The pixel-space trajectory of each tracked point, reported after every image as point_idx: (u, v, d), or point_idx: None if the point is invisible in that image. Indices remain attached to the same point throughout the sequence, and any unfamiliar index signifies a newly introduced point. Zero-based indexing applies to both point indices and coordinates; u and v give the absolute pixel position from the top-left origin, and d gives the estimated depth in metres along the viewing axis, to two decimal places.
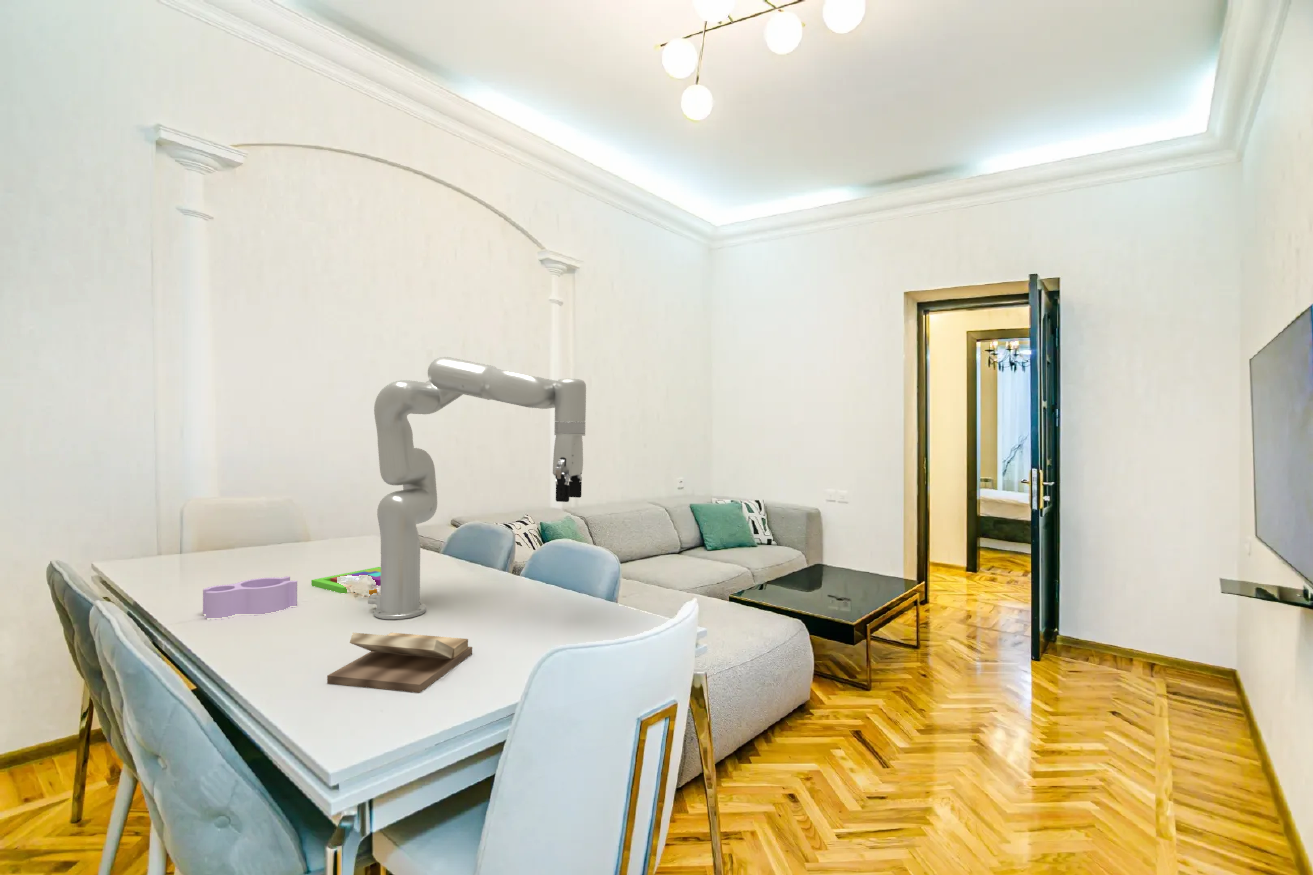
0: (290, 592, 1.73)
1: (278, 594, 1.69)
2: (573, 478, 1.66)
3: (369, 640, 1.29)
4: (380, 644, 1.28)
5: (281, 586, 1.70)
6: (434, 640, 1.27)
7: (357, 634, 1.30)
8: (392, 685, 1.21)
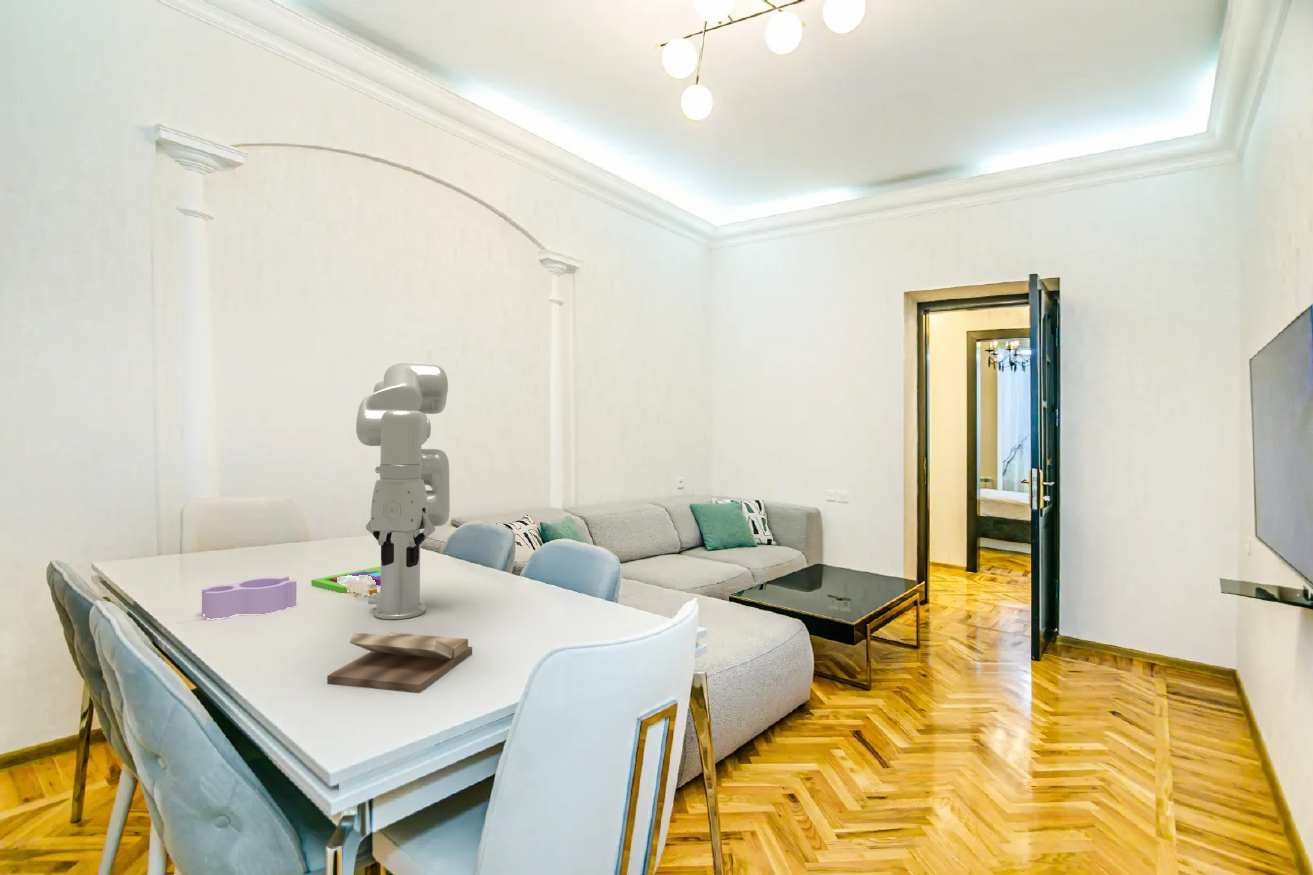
0: (289, 592, 1.73)
1: (277, 594, 1.69)
2: (386, 539, 1.30)
3: (369, 640, 1.29)
4: (380, 644, 1.28)
5: (280, 586, 1.70)
6: (434, 640, 1.27)
7: (357, 634, 1.30)
8: (392, 685, 1.21)
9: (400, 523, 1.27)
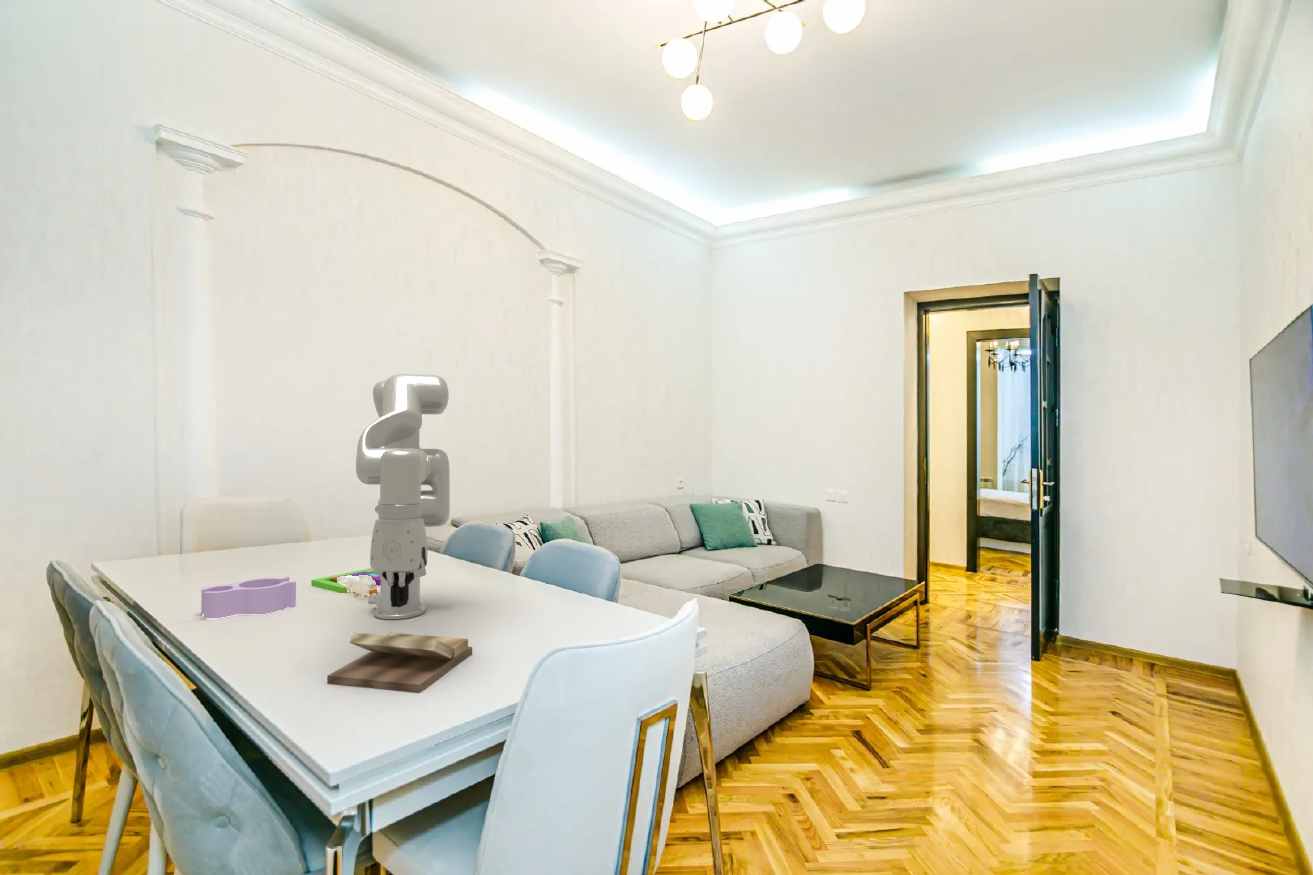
0: (288, 592, 1.73)
1: (276, 594, 1.69)
2: (394, 579, 1.29)
3: (369, 640, 1.29)
4: (380, 644, 1.28)
5: (279, 586, 1.69)
6: (434, 640, 1.27)
7: (357, 634, 1.30)
8: (392, 685, 1.21)
9: (400, 563, 1.27)
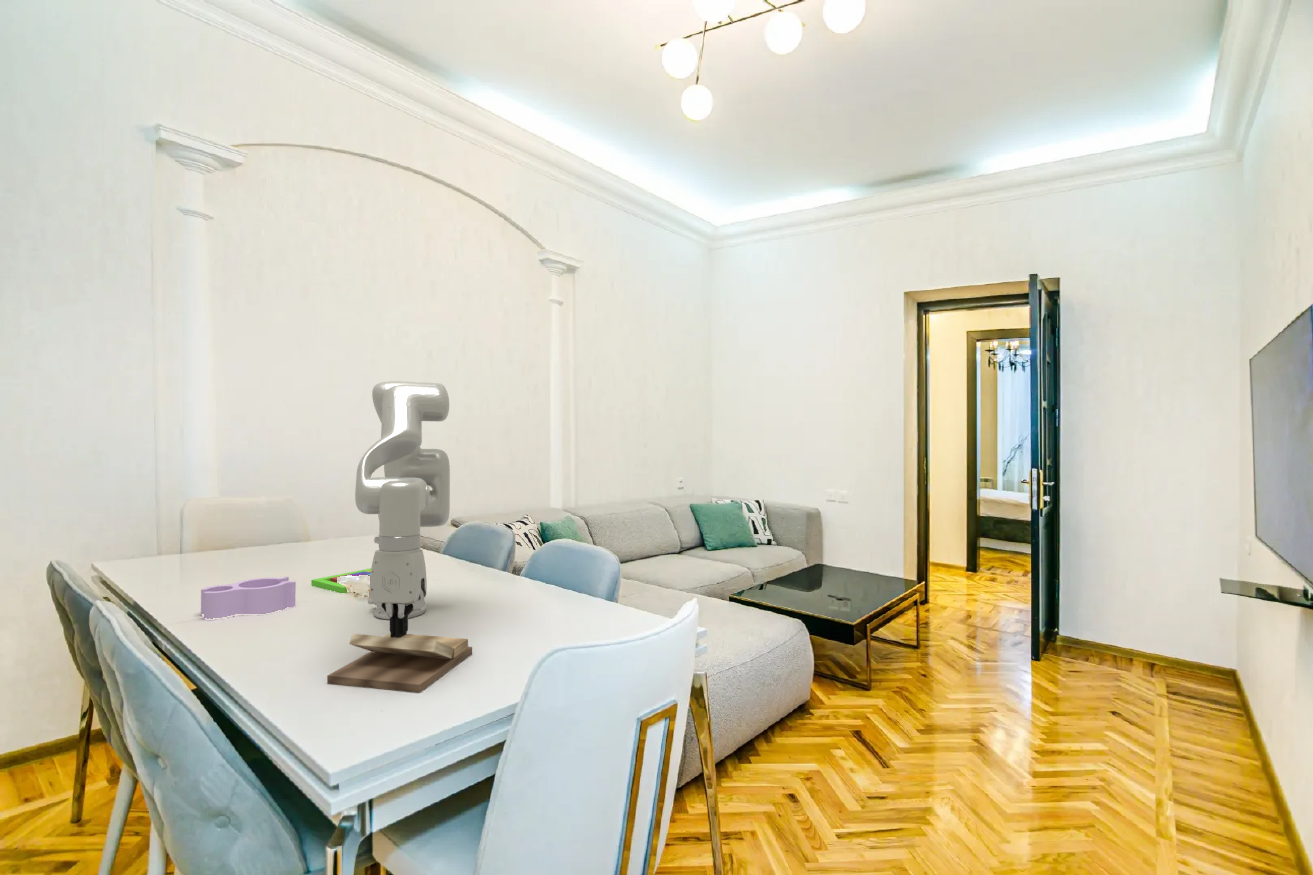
0: (288, 592, 1.73)
1: (276, 594, 1.69)
2: (393, 610, 1.30)
3: (369, 641, 1.29)
4: (380, 645, 1.28)
5: (279, 586, 1.69)
6: (434, 641, 1.27)
7: (357, 635, 1.30)
8: (392, 685, 1.21)
9: (399, 595, 1.27)
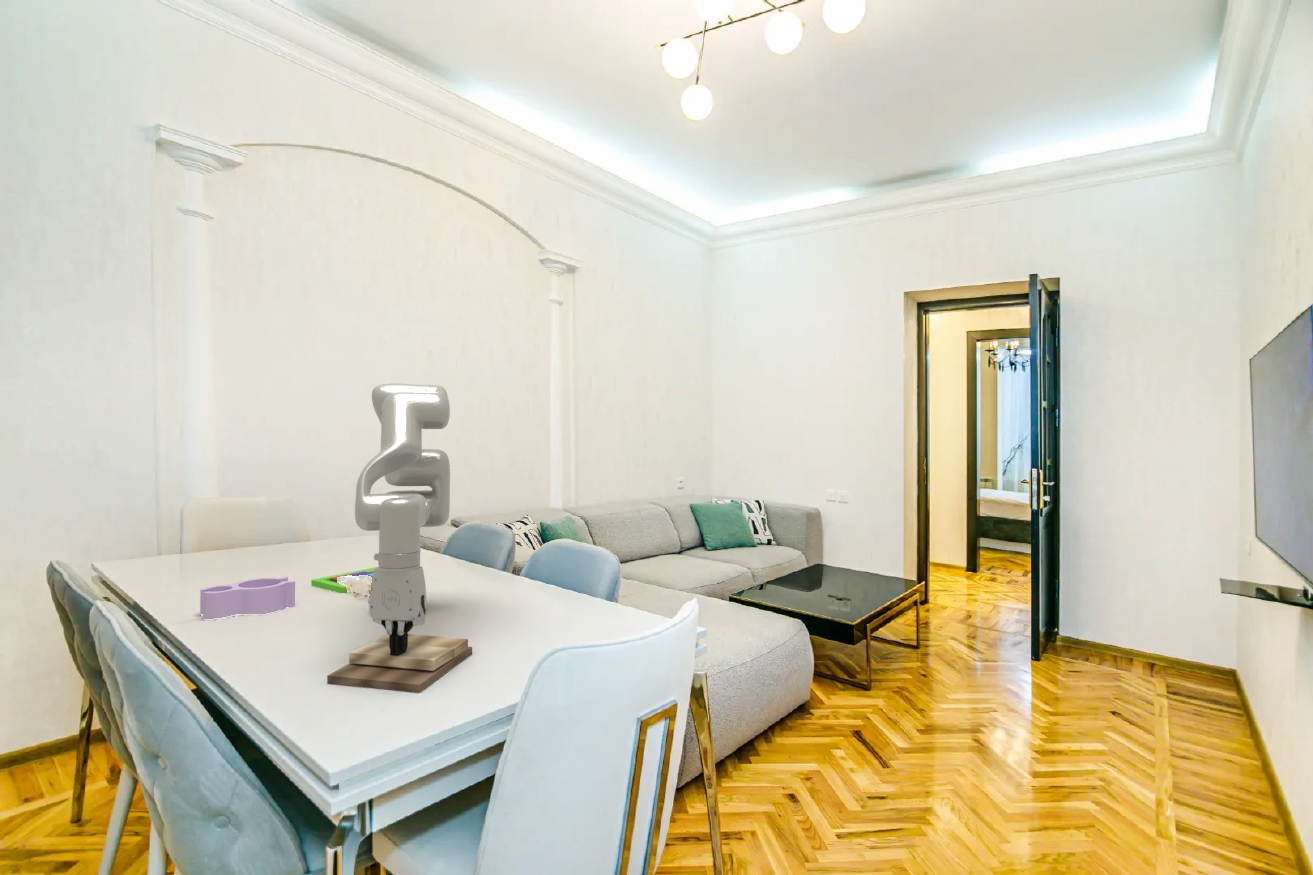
0: (287, 592, 1.73)
1: (276, 594, 1.68)
2: (393, 627, 1.29)
3: (368, 660, 1.28)
4: (379, 664, 1.28)
5: (279, 586, 1.69)
6: (431, 661, 1.26)
7: (354, 654, 1.29)
8: (392, 685, 1.21)
9: (399, 612, 1.26)
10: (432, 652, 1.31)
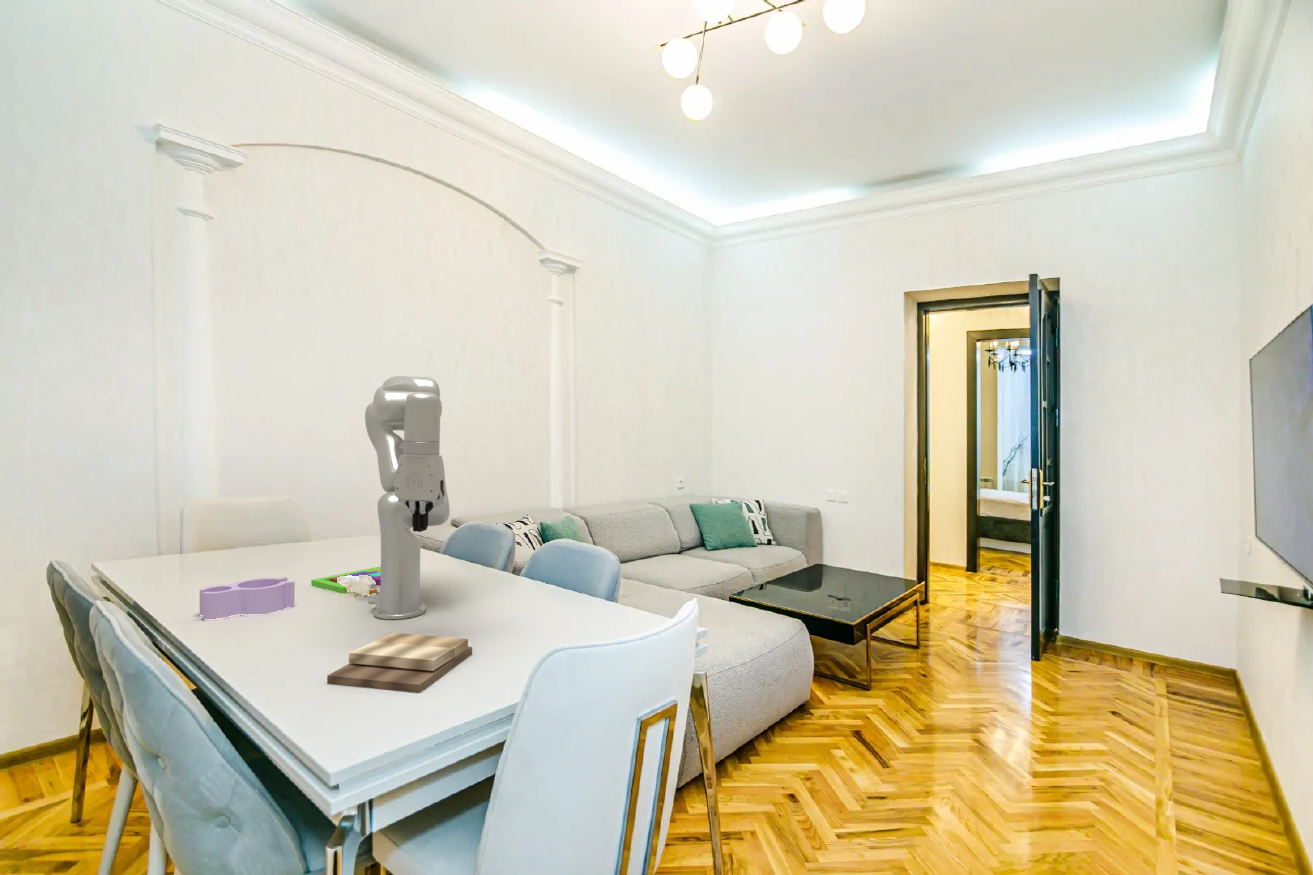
0: (287, 592, 1.72)
1: (275, 595, 1.68)
2: (416, 507, 1.47)
3: (368, 660, 1.28)
4: (379, 664, 1.28)
5: (278, 587, 1.69)
6: (431, 661, 1.26)
7: (354, 654, 1.29)
8: (392, 685, 1.21)
9: (421, 493, 1.44)
10: (432, 652, 1.31)
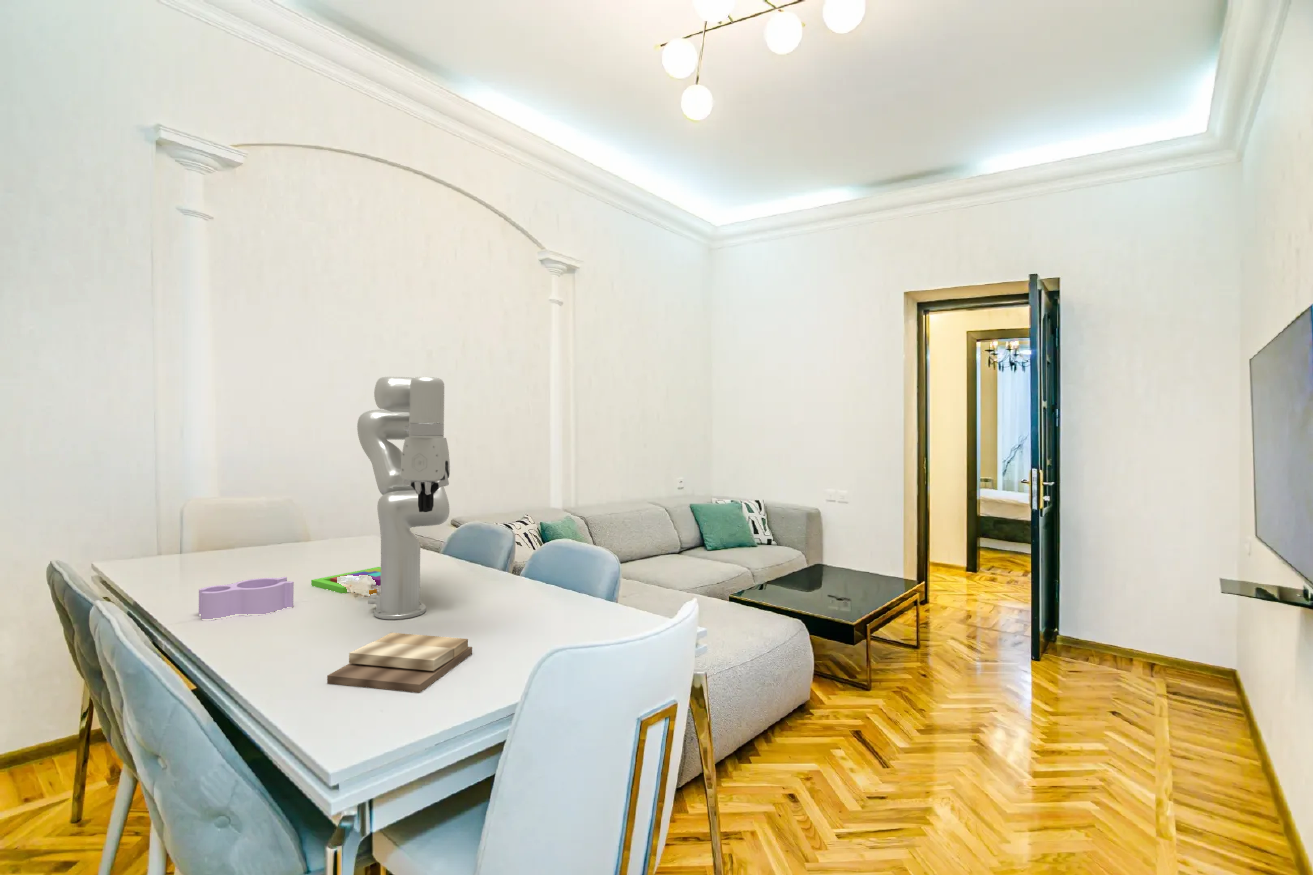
0: (286, 592, 1.72)
1: (274, 595, 1.68)
2: (421, 488, 1.50)
3: (368, 660, 1.28)
4: (379, 664, 1.28)
5: (277, 587, 1.69)
6: (431, 661, 1.26)
7: (354, 654, 1.29)
8: (392, 685, 1.21)
9: (426, 473, 1.47)
10: (432, 652, 1.31)
